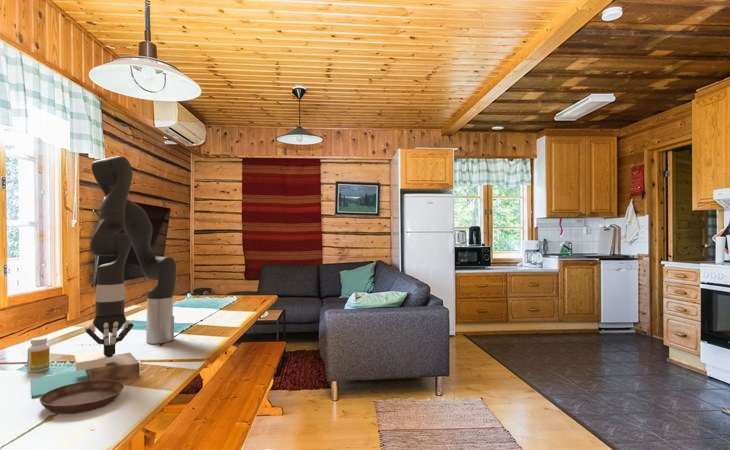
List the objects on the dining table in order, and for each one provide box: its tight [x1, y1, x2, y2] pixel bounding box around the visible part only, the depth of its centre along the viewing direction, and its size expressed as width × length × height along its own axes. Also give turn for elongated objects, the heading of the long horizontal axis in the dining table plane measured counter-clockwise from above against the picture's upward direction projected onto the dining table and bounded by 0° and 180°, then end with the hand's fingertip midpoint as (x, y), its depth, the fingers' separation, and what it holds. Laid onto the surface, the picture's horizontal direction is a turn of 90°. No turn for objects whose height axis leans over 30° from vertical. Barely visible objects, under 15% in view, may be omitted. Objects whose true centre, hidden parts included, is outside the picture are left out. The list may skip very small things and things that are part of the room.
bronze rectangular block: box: [85, 352, 140, 382], centre depth 126 cm, size 12×14×4 cm
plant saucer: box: [39, 380, 125, 415], centre depth 106 cm, size 18×18×3 cm
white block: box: [73, 350, 106, 371], centre depth 123 cm, size 7×9×2 cm
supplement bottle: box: [26, 336, 51, 373], centre depth 130 cm, size 5×5×10 cm
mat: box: [30, 370, 90, 399], centre depth 118 cm, size 13×16×1 cm
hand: (109, 356), depth 126 cm, fingers closed
